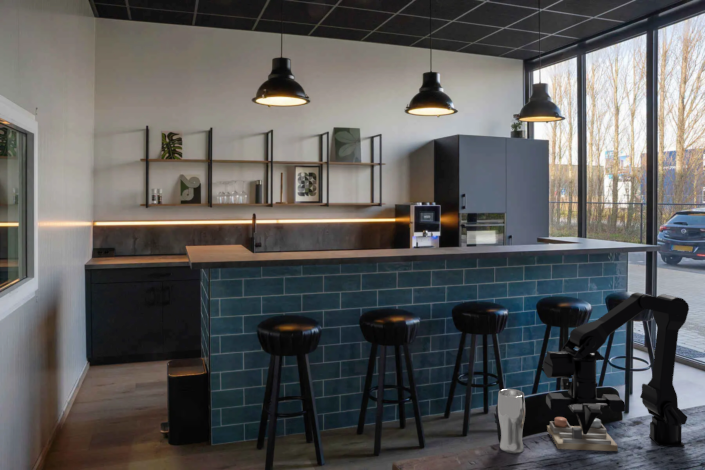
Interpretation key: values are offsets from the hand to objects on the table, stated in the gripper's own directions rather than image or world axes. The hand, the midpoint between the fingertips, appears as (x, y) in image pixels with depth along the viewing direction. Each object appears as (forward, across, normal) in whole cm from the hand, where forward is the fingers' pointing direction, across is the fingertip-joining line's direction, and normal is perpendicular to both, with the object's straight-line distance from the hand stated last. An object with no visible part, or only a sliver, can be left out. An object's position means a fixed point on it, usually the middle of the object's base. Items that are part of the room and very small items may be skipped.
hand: (584, 433), depth 143 cm
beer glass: (+4, +19, +3) cm, 20 cm away
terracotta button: (0, +4, -7) cm, 8 cm away
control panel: (+3, 0, -4) cm, 5 cm away
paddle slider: (+2, +2, 0) cm, 2 cm away
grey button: (0, -5, -7) cm, 8 cm away
